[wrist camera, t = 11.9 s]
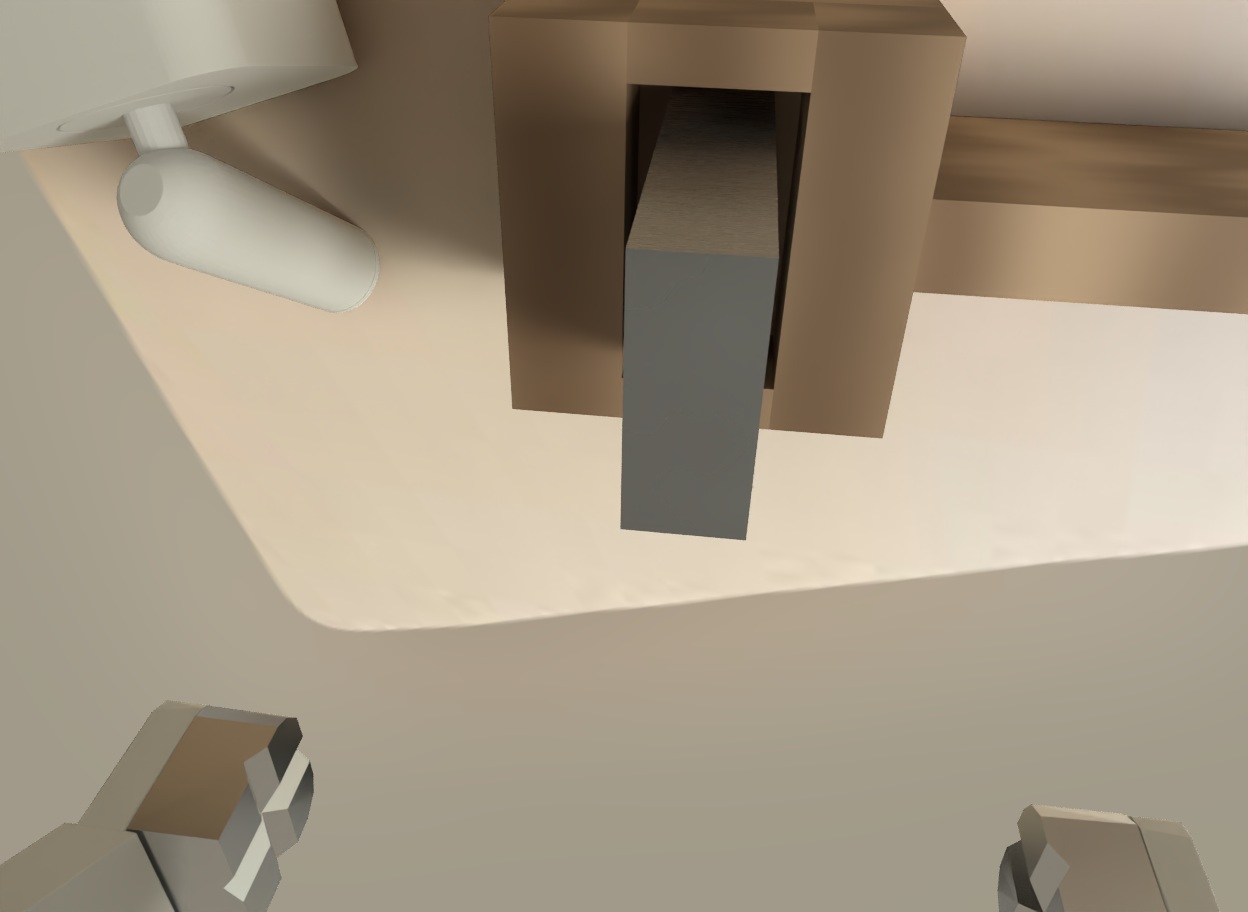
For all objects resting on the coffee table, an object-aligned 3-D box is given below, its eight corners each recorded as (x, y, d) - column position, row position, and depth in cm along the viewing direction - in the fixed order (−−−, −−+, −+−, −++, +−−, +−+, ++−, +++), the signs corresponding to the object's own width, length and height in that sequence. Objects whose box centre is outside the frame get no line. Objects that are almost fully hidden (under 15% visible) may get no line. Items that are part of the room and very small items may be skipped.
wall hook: (263, 327, 35) (66, 421, 26) (144, 25, 31) (-131, 10, 22) (465, 278, 33) (329, 360, 23) (361, -52, 29) (155, -104, 20)
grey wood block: (774, 91, 24) (778, 258, 16) (751, 310, 27) (745, 540, 19) (673, 86, 24) (625, 248, 16) (663, 304, 27) (620, 528, 19)
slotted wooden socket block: (1467, -9, 25) (1712, 69, 18) (1302, 333, 31) (1445, 483, 24) (554, -44, 27) (488, 15, 21) (562, 282, 33) (512, 408, 26)
